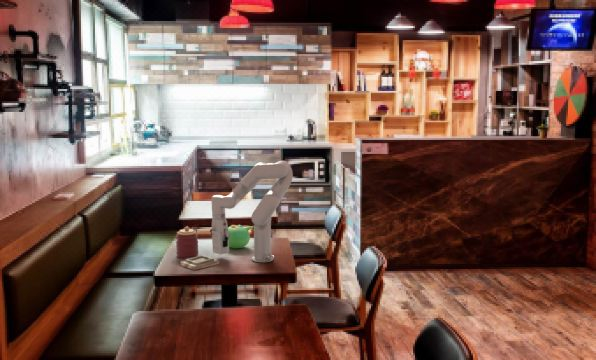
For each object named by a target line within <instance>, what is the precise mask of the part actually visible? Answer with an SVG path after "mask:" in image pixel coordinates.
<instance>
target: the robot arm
mask: <svg viewBox="0 0 596 360" xmlns="http://www.w3.org/2000/svg"><path fill="white" fill-rule="evenodd" d="M293 175H294V174H293V169H292V166H291V165H290V164H289V162H288V161H286V160H279V161H277V162H275V163H266V162H264V161H259V162H256V164H254V165H253V167H252V168H251V169H250V170H249V171H248V172H247V173H246V174H245V175H244V177H243V178H241V180H240V181H239V183H238V184H237V186H235V187H234V189H233V190H232V191H231V192H230V193H229V194H228V195H226V196H224V195H222V194H214V195H212V196H211V213H212V214H211V215H212V218H211V219H212V220H211V229H210V230H209V232H210V235H211V236H212V231H215V232H220V233H221V236H222V238H223V247H227V246H228V238H229V236H230V233H229V232H228V227H229V225H228V220H227V219H226V209H229V210H231V209H234V208H235V207H236V206H238V204H240V202H241V201H242V200H243V199H244V198H245V197H246V196H247V195H248V194H249V193H250V192H252V191H253V190H254V189H255V187H256V186H257V185H259V183H260V182H261V181H263V180H270V179H273V180H274V179H275V181H274V182H273V184H272V186H271V187H270V188H269V190H268V192H266V193H265V195H264V196H263V197H262V198H261V199H260V202H259V203H258V204H257V206H255V209H254V210H253V212H252V214H251V221H252V223H253V226H254V228H253V241H254V242H253V246H254V247H253V250H254V251H253V252H254V254H253V256H252V257H251V261H253V262H254V263H269V262H272V261H274V259H275V255H273V253H272V249H271V247H272V246H271V243H272V242H271V239H272V237H271V236H272V235H271V231H272V229H271V228H272V227H271V226H272V216H273V214H274V212H275V211H276V209H277V208H278V206H279V204H280V203H281V200H282V199H283V198H284V196H285V195H286V193H287V191H288V189H289V188H290V186H291V184H292V181H293V177H294V176H293ZM224 232H225V233H226V235H223V234H224ZM224 236H225V238H224Z"/></svg>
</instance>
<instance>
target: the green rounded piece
mask: <svg viewBox="0 0 596 360" xmlns="http://www.w3.org/2000/svg"><path fill="white" fill-rule="evenodd" d="M252 229H254V225H252V226H249V225H248V226H242V225H241V224H238V225H237V224H236V225H235V224H231V225H230V226H228V232H229V233H230V236H229V238H228V239H229V248H231V249H242V248H244V247H246V246H247V245H248V244H249V243H250V240H251V235H250V232H249V231H251V230H252Z"/></svg>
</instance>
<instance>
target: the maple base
mask: <svg viewBox="0 0 596 360" xmlns="http://www.w3.org/2000/svg"><path fill="white" fill-rule="evenodd" d="M219 264H220V261H219V259H217V258H216V259H215V258H213V257H210V256H207V255H204V254H202V255H201V254H200V255H198V256H196V257H193V258H184V260H182V261H180V266H182V267H184V268H188V269H190V270H193V271H197V270H200V269H203V268H208V267H211V266H215V265H219Z"/></svg>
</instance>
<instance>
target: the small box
mask: <svg viewBox="0 0 596 360" xmlns="http://www.w3.org/2000/svg"><path fill="white" fill-rule="evenodd" d="M223 235H226V233H225V232H224V234H223ZM224 238H225V236H224ZM211 239H212V240H211V241H212V253H213V254H218V255H219V256H220V255H224V254H228V253H230V247H229V239H228V246H227V247H223V238H222V236H221V233H220V232H215V231H212V235H211Z"/></svg>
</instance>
